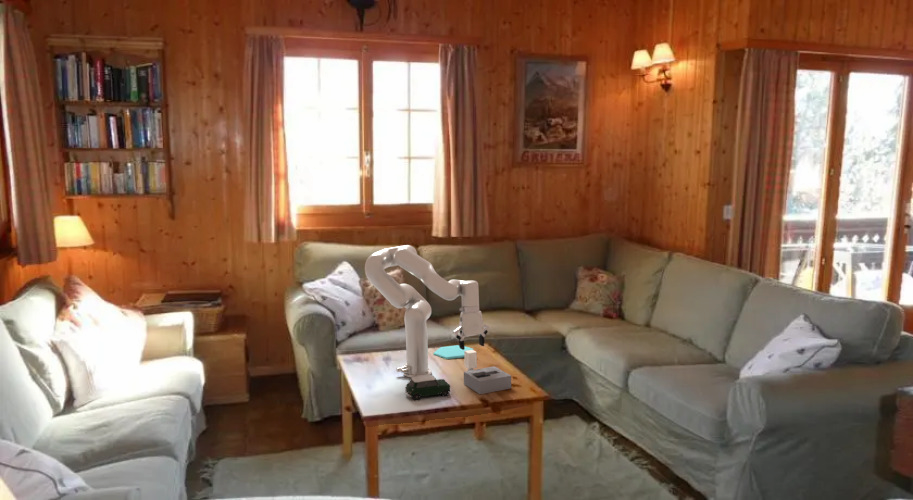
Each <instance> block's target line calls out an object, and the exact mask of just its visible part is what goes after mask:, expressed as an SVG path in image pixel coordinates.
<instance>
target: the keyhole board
mask: <svg viewBox="0 0 913 500" xmlns="http://www.w3.org/2000/svg"><path fill="white" fill-rule="evenodd" d="M463 385H464V386H466V387H468V388H469V389H471V390H472V391H474V392H475V393H477V394H479V395H484V394H488V393H493V392H500V391H505V390H509V389H512V375H511V374H509V373H508V372H505V371H504V370H502V369H500V368H499V367H497V366H495V365H494V366H489V367H483V368H477V369H476V368H475V369H473V370H471V371H468V370H466V371H463Z"/></svg>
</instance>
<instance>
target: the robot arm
mask: <svg viewBox="0 0 913 500" xmlns="http://www.w3.org/2000/svg"><path fill="white" fill-rule="evenodd" d="M397 266H399V268H401V269H403V270H405V271H406V272H408V273H410V274H411V275H412V276H415V278H417V279H418V280H420V281H421V282H422V284H423V285H425V286H426V287H427V289H429V290H430V291H431V292H433V293H434V294H436V296H438V297H440V298H442V299H443V300H446V301H453V300H455V299H457V298H458V297H461V307H459V309H458V310H459V312H460V315H459V325H458V327H456V329H454V330H453V331H452V334H453V335H454V337H455V338H456V339H457V340H458V345H459V347H460V349H462V350H464V349H465V348H464V346H465V340H464V339H465V338H466V337H472V336H479V337H478V344H479V346H481V347H484V346H485V344H486V343H485V337H486V335H487V334H488V332H489V329H490V326H489V325H488V324H485V323H484V319H483V314H482V311H481V310H480V296H479V295H480V294H479V282H478V281H477V280H472V279H471V280H470V279H469V280H461V279H450V280H446V279H445V278H443V277H441V276H440V274H438V273H437V272H436V270H435V268H434V266H433V264H432V263H431V262H430V261H428V260H427V259H425V258H423V257H422V256H420V255H419V254H418V252H417V250H416V248H415V247H414V246H412V245H409V244H406V245H405V244H404V245H400V246H394V247H388V248H383V249H380V250H378V251H375V252H373V253H371V254H370V255H369V256H368V258H366V261H365V264H364V273H365V276H366V278H367V280H368V281H369V283H371V285H372V286H373V287H374V288H375V289H376V290H377V291H378V292H379V293H380V294H381V295H382V296H383V297H384V298H385V299H386V300H387V301H388V302H389V303H390V305H391V306H393V307H394V308H396V309H403V308H405V309H406V310H405V313H404V317H403V319H404V327H405V348H406V349H405V350H406V353H405V354H406V355H405V357H406V363H404V365H403V366H399V367H396V369H395V370H396V372H397V373H399V372H401V373H402V374H403V376H405V377H407V378H410V379H411V378H412V377H416V376H421V375H432V369H431V368H429V351H428V350H429V349H428V346H429V345H428V342H429V339H428V329H427V321H428V319H429V318H430V317H431V315H432V306H431V305H430V303H429V302H428V301H427V300H426V299H425V298H424V297H423V296H422V295H421V294H420V293H419V292H418V291H417V290H416V288H414V287H413V286H412V285H410V284H407V283H398V281H396V280H395V279H394V277H393V276H392V275H390V274H389V273H387V272H386V270H385V269H387V268H390V267H397Z"/></svg>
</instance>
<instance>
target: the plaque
mask: <svg viewBox="0 0 913 500" xmlns="http://www.w3.org/2000/svg"><path fill="white" fill-rule="evenodd" d="M464 348H465V349H464V350H462V349H460V347H459V344H456V345H455V344H454V345H448V346H440V347H439V348H438V349H436V350H435V351H434V352H433V356H436V357H438V358H441V359H445V360H451V359H460V358H462V359H463V358H464V351H468V350H474V348H472V347H469V346H465V345H464Z"/></svg>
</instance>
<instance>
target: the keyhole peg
mask: <svg viewBox="0 0 913 500" xmlns="http://www.w3.org/2000/svg"><path fill="white" fill-rule="evenodd" d="M477 353H478V352H477V351H476V350H475V349H473V350H468V351H464V357H463V358H464V360H463V361H464V362H463V363H464V367H465V368H467V371H471V370H474V369H476V368H477V369H478V365H477V363H478V359H477V358H478V354H477Z"/></svg>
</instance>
